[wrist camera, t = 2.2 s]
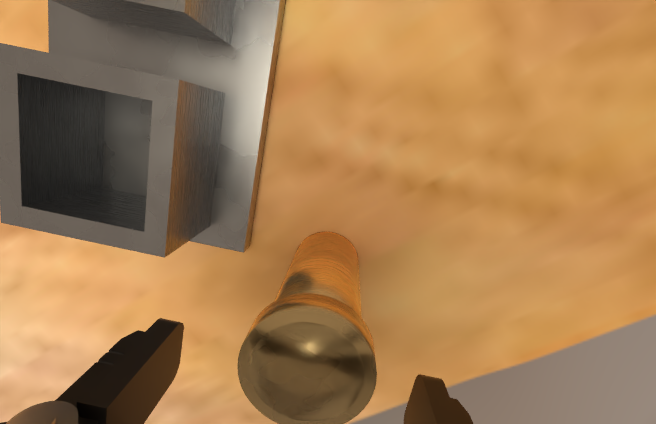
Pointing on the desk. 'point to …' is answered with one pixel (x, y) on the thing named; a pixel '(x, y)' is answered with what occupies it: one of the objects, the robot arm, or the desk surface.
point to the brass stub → (312, 341)
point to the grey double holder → (140, 122)
